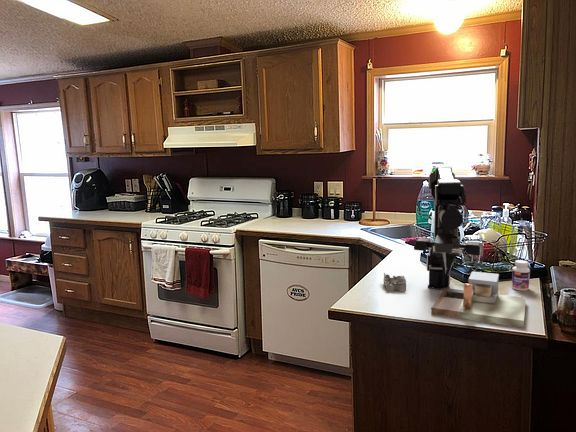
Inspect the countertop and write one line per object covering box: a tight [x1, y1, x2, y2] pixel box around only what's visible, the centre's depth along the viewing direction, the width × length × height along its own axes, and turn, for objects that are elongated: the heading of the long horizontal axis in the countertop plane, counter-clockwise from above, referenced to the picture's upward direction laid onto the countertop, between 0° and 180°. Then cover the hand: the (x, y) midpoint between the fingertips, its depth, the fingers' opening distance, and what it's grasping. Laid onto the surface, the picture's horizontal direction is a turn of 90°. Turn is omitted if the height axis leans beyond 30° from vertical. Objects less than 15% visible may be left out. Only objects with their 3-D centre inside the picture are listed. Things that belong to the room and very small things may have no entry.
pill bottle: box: [511, 259, 531, 292], centre depth 161 cm, size 5×5×10 cm
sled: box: [462, 282, 497, 308], centre depth 142 cm, size 8×15×7 cm, turn 152°
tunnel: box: [468, 271, 500, 297], centre depth 146 cm, size 8×9×7 cm
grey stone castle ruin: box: [383, 272, 407, 292], centre depth 167 cm, size 11×8×4 cm
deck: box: [430, 287, 527, 329], centre depth 143 cm, size 25×21×2 cm
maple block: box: [475, 283, 492, 297], centre depth 146 cm, size 4×4×4 cm
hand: (446, 273), depth 140 cm, fingers closed
